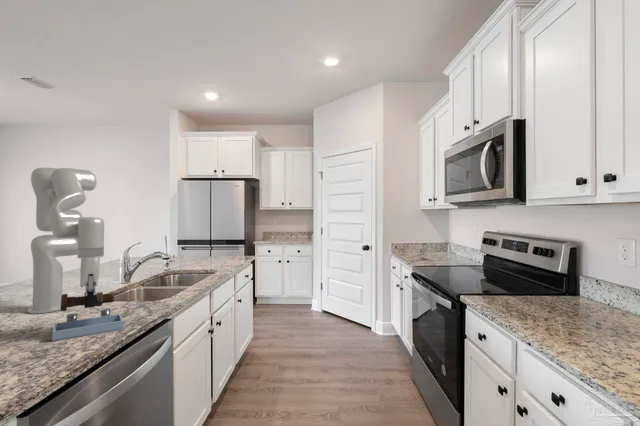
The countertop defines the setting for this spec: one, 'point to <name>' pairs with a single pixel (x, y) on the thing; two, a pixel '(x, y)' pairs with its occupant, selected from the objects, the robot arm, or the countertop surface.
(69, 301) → the bolt
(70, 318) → the peg
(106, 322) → the tray
